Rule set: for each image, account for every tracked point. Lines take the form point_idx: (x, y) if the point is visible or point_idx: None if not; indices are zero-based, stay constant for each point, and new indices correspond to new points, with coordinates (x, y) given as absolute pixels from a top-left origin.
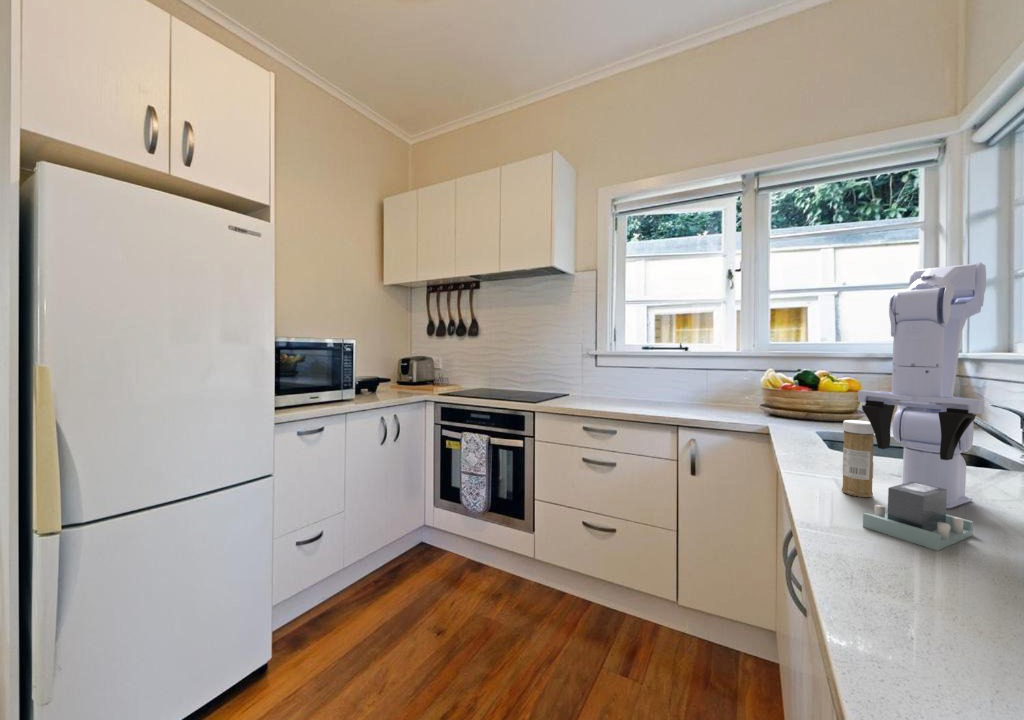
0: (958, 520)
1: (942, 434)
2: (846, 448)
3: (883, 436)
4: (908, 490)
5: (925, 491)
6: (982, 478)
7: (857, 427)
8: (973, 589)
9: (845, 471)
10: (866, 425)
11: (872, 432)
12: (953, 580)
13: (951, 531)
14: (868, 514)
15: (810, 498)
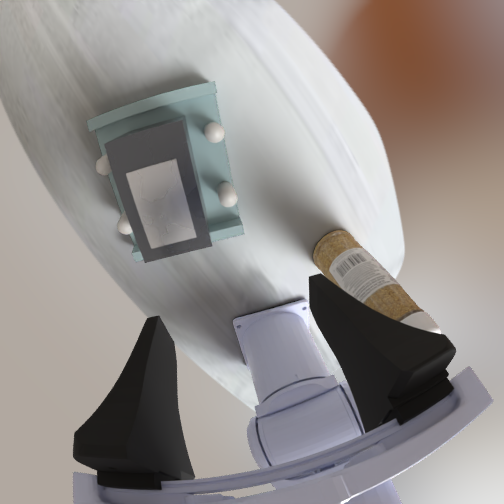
0: (120, 220)
1: (139, 379)
2: (395, 283)
3: (329, 310)
4: (149, 152)
5: (131, 187)
6: None
7: None
8: (17, 57)
9: (366, 252)
10: None
11: None
12: (35, 51)
13: None
14: (206, 86)
15: (354, 139)
